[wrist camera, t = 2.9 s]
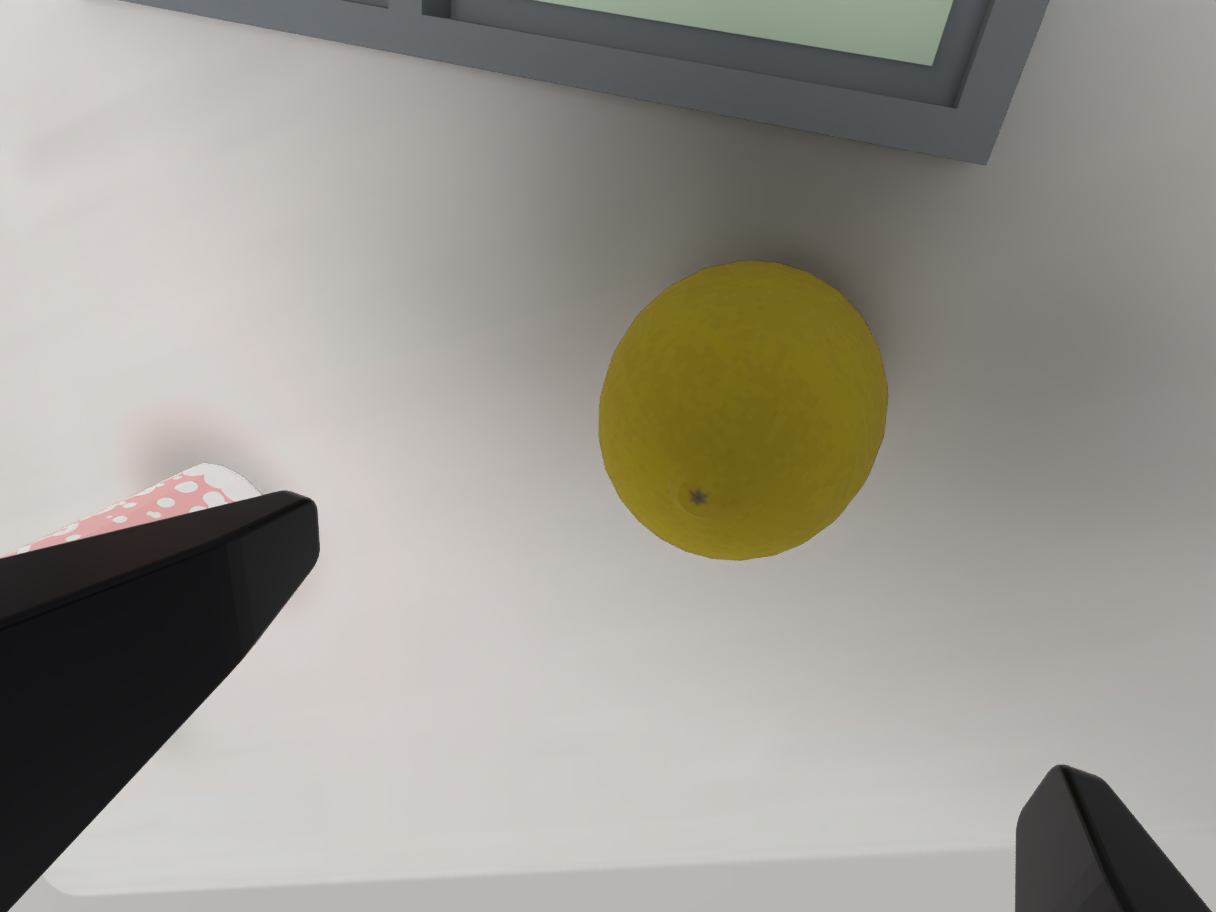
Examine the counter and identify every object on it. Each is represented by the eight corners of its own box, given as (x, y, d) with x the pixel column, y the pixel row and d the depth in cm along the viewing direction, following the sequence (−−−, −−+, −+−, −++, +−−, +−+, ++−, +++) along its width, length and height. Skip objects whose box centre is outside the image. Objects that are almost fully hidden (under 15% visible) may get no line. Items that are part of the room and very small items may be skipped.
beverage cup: (255, 438, 26) (-281, 742, 14) (320, 583, 28) (-93, 948, 16) (139, 449, 28) (-403, 717, 16) (207, 582, 30) (-224, 900, 19)
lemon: (938, 299, 16) (971, 453, 10) (809, 480, 19) (765, 693, 13) (723, 186, 17) (612, 258, 10) (628, 379, 20) (495, 534, 13)
